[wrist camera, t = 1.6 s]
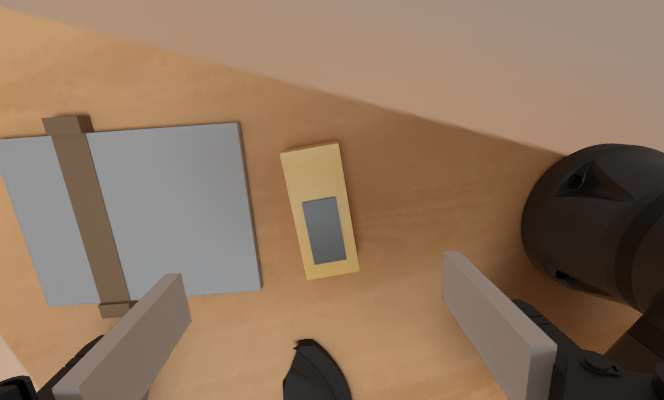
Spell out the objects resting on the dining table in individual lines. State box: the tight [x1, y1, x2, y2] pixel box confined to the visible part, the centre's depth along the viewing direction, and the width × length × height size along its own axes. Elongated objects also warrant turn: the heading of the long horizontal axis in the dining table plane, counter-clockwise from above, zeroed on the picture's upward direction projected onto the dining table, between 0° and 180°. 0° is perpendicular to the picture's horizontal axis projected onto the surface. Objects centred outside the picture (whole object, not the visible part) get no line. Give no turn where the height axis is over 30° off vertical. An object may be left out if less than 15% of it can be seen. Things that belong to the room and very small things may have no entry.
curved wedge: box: [283, 339, 351, 400], centre depth 36 cm, size 8×14×2 cm, turn 1°
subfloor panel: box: [0, 116, 263, 318], centre depth 30 cm, size 22×20×2 cm
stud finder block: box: [280, 140, 360, 280], centre depth 29 cm, size 5×12×4 cm, turn 10°
